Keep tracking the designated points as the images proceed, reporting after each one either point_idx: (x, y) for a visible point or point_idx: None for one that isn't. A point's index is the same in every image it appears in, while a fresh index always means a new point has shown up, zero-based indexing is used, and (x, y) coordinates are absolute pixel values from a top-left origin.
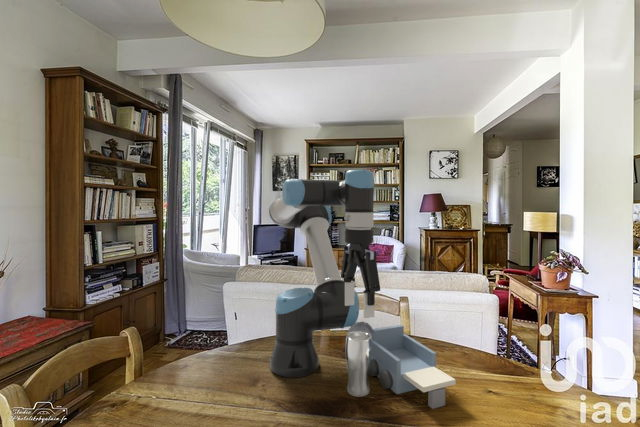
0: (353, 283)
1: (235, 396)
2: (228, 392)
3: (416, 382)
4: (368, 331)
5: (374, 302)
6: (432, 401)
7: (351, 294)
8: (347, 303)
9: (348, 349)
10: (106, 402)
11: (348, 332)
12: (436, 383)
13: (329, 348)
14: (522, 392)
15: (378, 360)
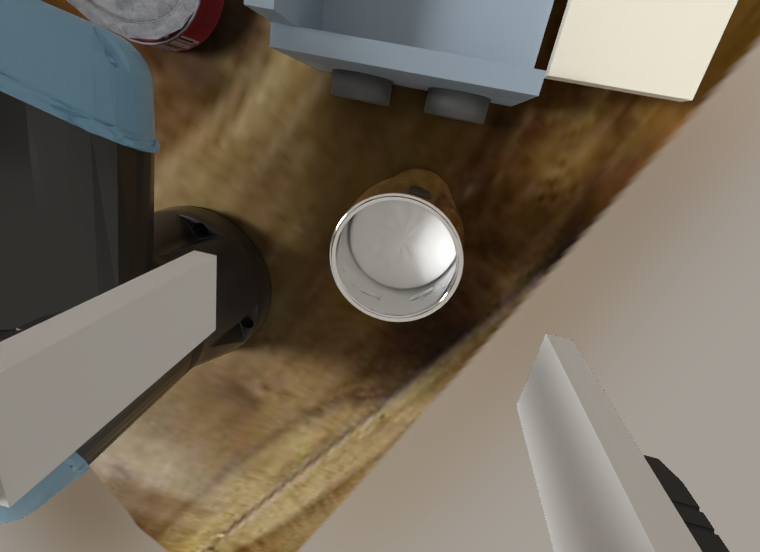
0: (3, 390)
1: (283, 446)
2: (262, 449)
3: (643, 91)
4: None
5: (689, 495)
6: None
7: (144, 328)
8: (203, 324)
9: (401, 301)
10: None
11: (80, 6)
12: (727, 12)
13: None
14: None
15: (381, 75)
